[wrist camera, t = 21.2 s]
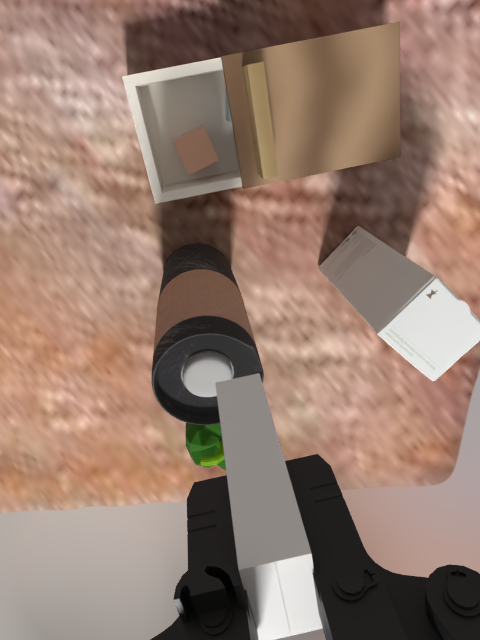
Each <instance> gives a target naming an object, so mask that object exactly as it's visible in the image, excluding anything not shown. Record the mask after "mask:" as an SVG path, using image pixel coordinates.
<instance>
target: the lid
mask: <svg viewBox="0 0 480 640" xmlns="http://www.w3.org/2000/svg"><path fill="white" fill-rule="evenodd" d="M221 61H222V67H223V73H224V79H225V85H226V91H227V97H228V103H229V109H230V115H231V121H232V127H233V133H234V139H235V145H236V151H237V157H238V163H239V169H240V175H241V181H242V187H243V189H245V188H250V187H255V186H260V185H265V184H270V183H275V182H280V181H285V180H290V179H295V178H300V177H305V176H310V175H315V174H320V173H324V172H329V171H334V170H339V169H344V168H349V167H354V166H359V165H364V164H369V163H374V162H379V161H384V160H389V159H394V158H399V157H400V22H396V23H391V24H386V25H380V26H375V27H370V28H365V29H360V30H354V31H349V32H344V33H339V34H334V35H328V36H323V37H318V38H313V39H308V40H303V41H297V42H292V43H287V44H282V45H277V46H271V47H266V48H261V49H256V50H251V51H246V52H240V53H235V54H230V55H225V56H221Z"/></svg>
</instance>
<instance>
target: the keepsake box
mask: <svg viewBox="0 0 480 640" xmlns="http://www.w3.org/2000/svg"><path fill="white" fill-rule="evenodd" d="M122 78H123V82H124V86H125V89H126V93H127V97H128V101H129V105H130V109H131V113H132V116H133V120H134V124H135V128H136V132H137V136H138V139H139V143H140V147H141V151H142V155H143V159H144V163H145V166H146V170H147V174H148V178H149V182H150V186H151V189H152V193H153V197H154V201H155V204H157V203H162V202H167V201H172V200H177V199H182V198H187V197H192V196H197V195H202V194H207V193H212V192H217V191H222V190H227V189H232V188H237V187H241V186H242V181H241V175H240V169H239V163H238V157H237V151H236V145H235V139H234V133H233V127H232V122H229V121H226V85H225V79H224V73H223V67H222V61H221V57H220V58H215V59H210V60H205V61H199V62H194V63H189V64H184V65H179V66H173V67H168V68H163V69H158V70H153V71H148V72H142V73H137V74H132V75H127V76H122ZM200 125H203V126H204V127H205V130H206V132H207V134H208V136H209V138H210V140H211V143H212V145H213V147H214V149H215V151H216V153H217V156H218V158H219V160H218V161H216V162H214V163H212V164H210V165H208V166H206V167H204V168H202V169H200V170H198V171H196V172H195V173H193V174H191V175H189V174H188V172H187V170H186V168H185V166H184V164H183V162H182V160H181V158H180V156H179V154H178V152H177V150H176V148H175V146H174V144H173V139H175V138H177V137H179V136H181V135H183V134H185V133H187V132H189V131H191V130H193V129H195V128H196V127H198V126H200Z"/></svg>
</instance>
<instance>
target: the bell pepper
mask: <svg viewBox="0 0 480 640" xmlns="http://www.w3.org/2000/svg"><path fill="white" fill-rule="evenodd" d="M186 447H187V449H188V451H189V453H190V456H191V458H192V460H193V461H194V462H195V464H196V465H200V466H204V467H210V466H213V465H215V464H217V465H219V466H220V467H221V468H223V469H225V470H226V465H225V457H224V449H223V441H222V432H221V424H220V423H219V424H213V425H196V424H191V423H186Z"/></svg>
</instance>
